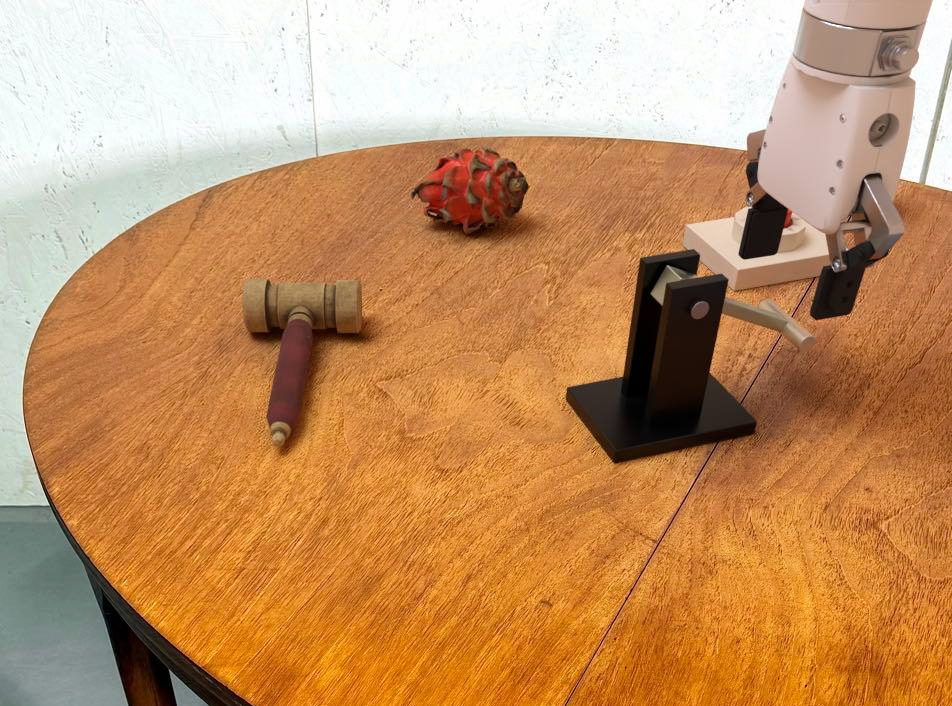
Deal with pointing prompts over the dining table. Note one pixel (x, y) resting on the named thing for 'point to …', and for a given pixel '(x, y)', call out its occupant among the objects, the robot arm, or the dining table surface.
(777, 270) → the button box
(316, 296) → the gavel
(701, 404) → the bracket
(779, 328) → the lever
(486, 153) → the dragon fruit
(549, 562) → the dining table surface
